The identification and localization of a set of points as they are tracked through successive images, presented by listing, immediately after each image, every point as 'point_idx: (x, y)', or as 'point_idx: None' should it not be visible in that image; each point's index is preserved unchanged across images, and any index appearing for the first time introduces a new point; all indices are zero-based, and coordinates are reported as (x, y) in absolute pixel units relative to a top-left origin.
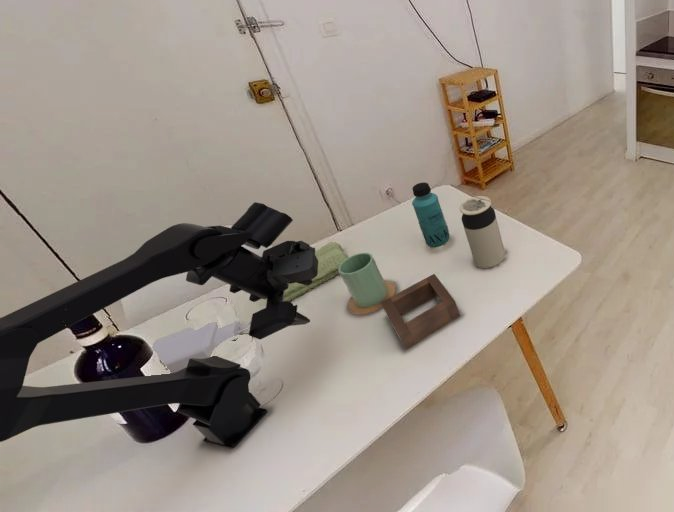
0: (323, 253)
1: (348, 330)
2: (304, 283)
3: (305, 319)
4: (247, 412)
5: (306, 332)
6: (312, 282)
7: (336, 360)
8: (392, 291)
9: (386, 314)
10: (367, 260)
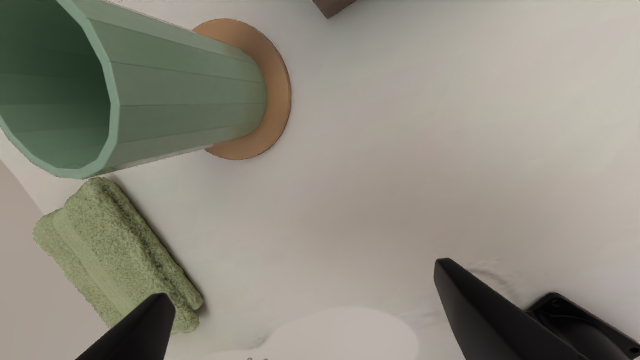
0: (64, 248)
1: (337, 141)
2: (162, 338)
3: (497, 296)
4: (604, 350)
5: (304, 245)
6: (160, 295)
7: (450, 152)
8: (219, 27)
9: (333, 2)
10: (49, 61)
